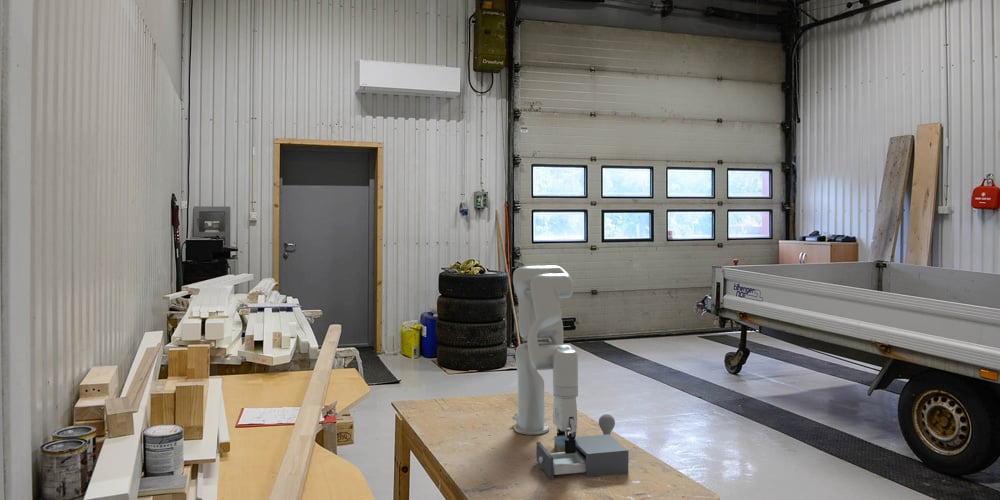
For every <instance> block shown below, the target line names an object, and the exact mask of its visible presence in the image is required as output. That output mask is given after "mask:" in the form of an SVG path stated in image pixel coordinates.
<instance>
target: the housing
mask: <svg viewBox="0 0 1000 500" xmlns="http://www.w3.org/2000/svg"><path fill="white" fill-rule="evenodd" d="M576 437H577V438H578V445H577V446H576V451H578V452H579V453H580V454H581V455H582V456H583V458H584V459H585V460H586V472H582V474H584V475H585V477H586V478H594V477H604V476H607V477H608V476H614V475H615V476H616V475H625V474H629V449H628V448H627V447H625V446H624V445H623V444H622V443H621V442H619V441H618V440H617V439H616V438H614V437H613V436H612V435H611V433H610V434H607V435H603V434H597V435H596V434H595V435H584V436H576Z"/></svg>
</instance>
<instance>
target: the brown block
mask: <svg viewBox="0 0 1000 500" xmlns="http://www.w3.org/2000/svg"><path fill="white" fill-rule="evenodd" d="M556 436H557V435H554V438H553V439H554V441H553V442H554V446H553V447H554V449H555V450H556V451H557V453H558V452H565V447H559V446H556V445H555V437H556Z"/></svg>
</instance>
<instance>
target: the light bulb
mask: <svg viewBox="0 0 1000 500" xmlns="http://www.w3.org/2000/svg"><path fill="white" fill-rule="evenodd" d="M615 425H616V420H615V418H614V417H613V416H612V415H611V414H609V413H608V414H607V413H606V414H605V413H604V414H602V415H601V416H600V417H599V418H598V426H599V428H600V430H601V431H602V433H603V434H602V435H607V434H610V435H611V433H612V431H613V430H614V428H615Z"/></svg>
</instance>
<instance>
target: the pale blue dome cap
mask: <svg viewBox="0 0 1000 500" xmlns="http://www.w3.org/2000/svg"><path fill="white" fill-rule="evenodd" d="M555 436H556V437H555V445H556V446H559V447H565V440H566V436H565V435H559V436H557V435H555ZM577 437H578V436H576V446H577V445H578V438H577Z"/></svg>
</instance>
